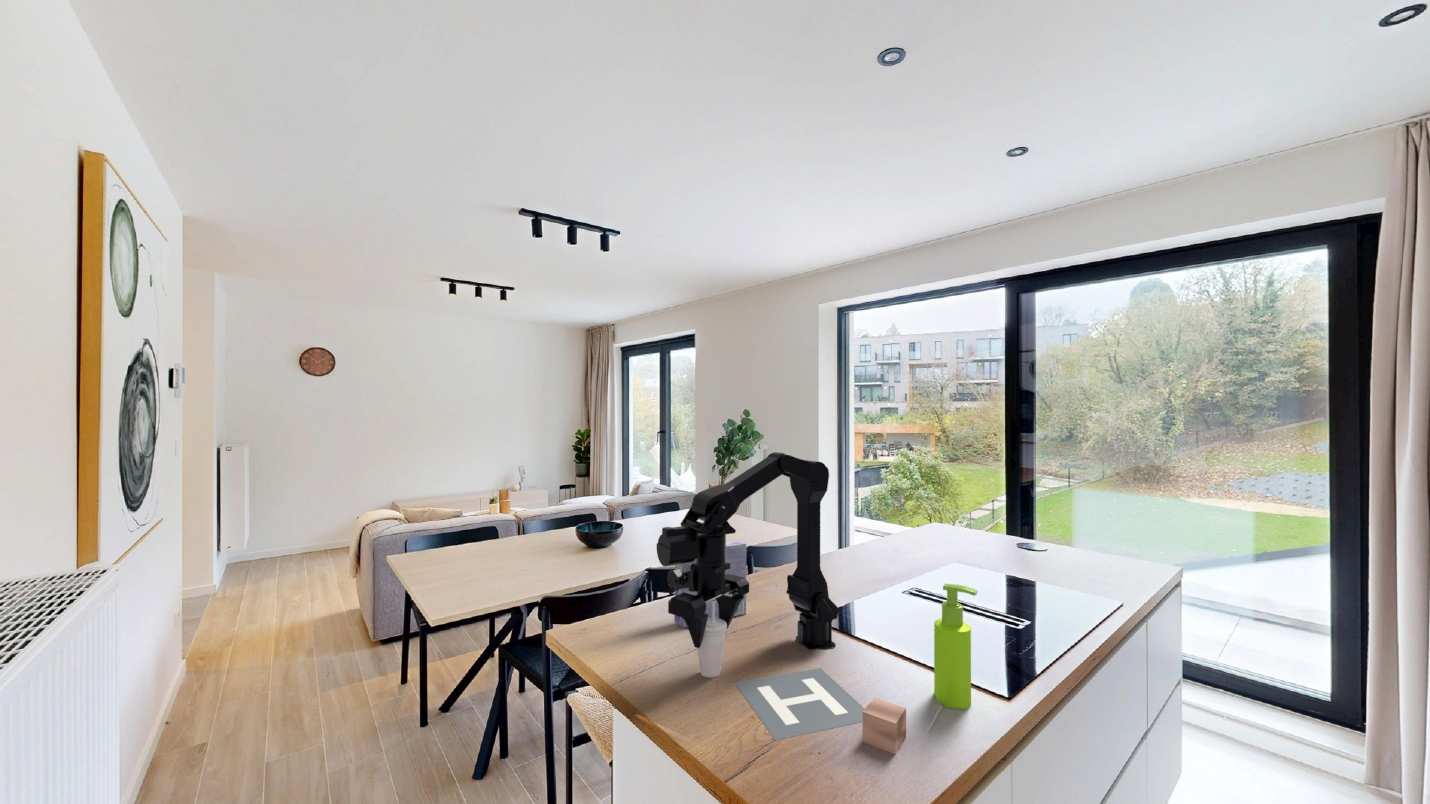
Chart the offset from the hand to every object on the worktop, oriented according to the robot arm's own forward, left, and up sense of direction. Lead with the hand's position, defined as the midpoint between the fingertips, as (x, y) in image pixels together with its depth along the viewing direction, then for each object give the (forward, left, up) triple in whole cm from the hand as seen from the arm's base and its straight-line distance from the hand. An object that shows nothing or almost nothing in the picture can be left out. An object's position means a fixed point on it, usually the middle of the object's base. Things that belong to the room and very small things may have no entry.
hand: (710, 639), depth 102 cm
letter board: (-12, +14, -7) cm, 20 cm away
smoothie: (0, 0, -7) cm, 7 cm away
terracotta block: (-19, +28, -7) cm, 34 cm away
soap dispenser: (-38, +22, -7) cm, 44 cm away
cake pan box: (-9, -26, -7) cm, 28 cm away
